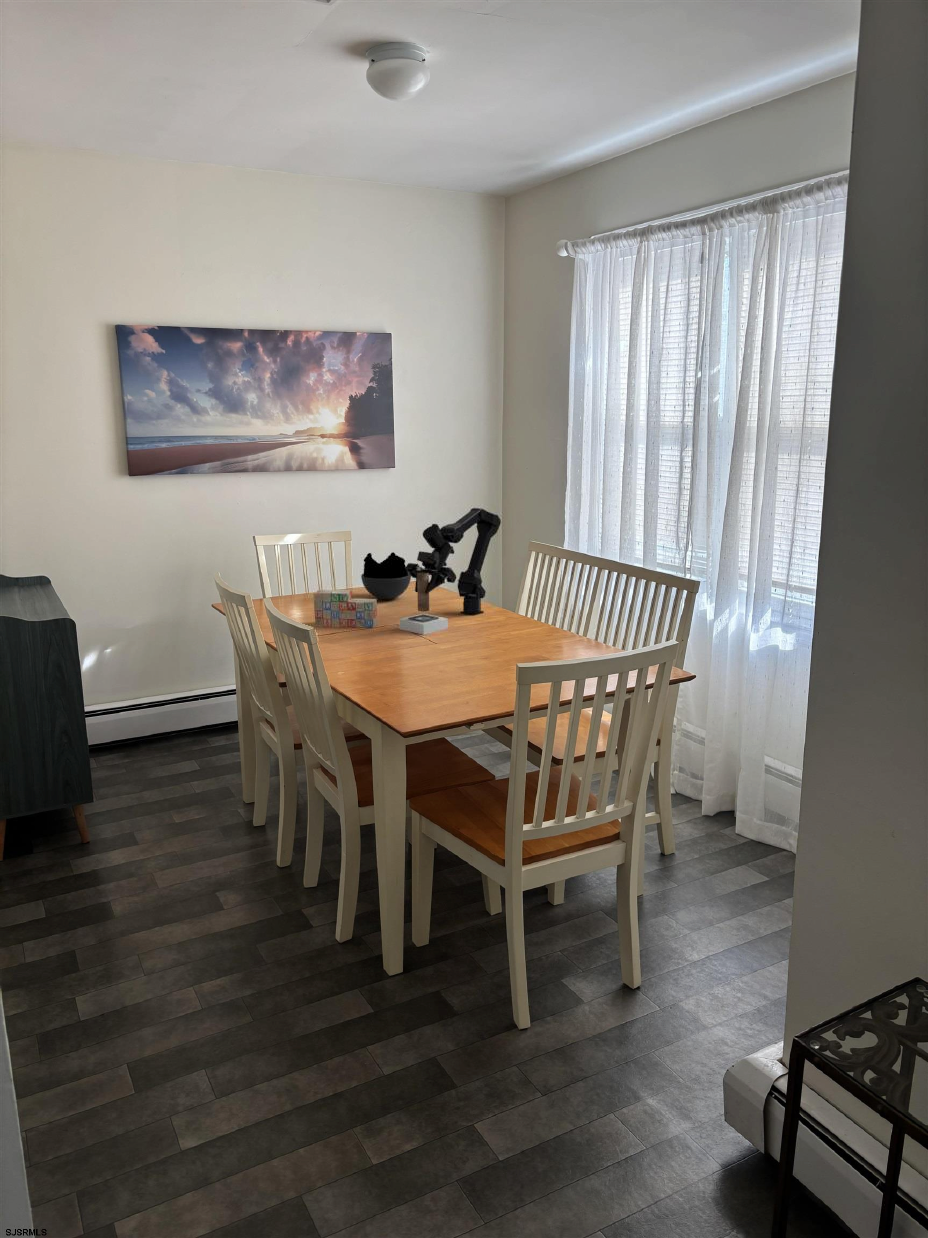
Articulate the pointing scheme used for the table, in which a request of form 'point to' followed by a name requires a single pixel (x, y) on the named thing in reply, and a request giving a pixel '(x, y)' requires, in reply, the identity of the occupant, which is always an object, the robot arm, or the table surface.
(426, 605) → the walnut peg
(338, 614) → the stack of blocks
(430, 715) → the table surface
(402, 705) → the table surface
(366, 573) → the coal bowl
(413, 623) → the socket block
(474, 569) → the robot arm
